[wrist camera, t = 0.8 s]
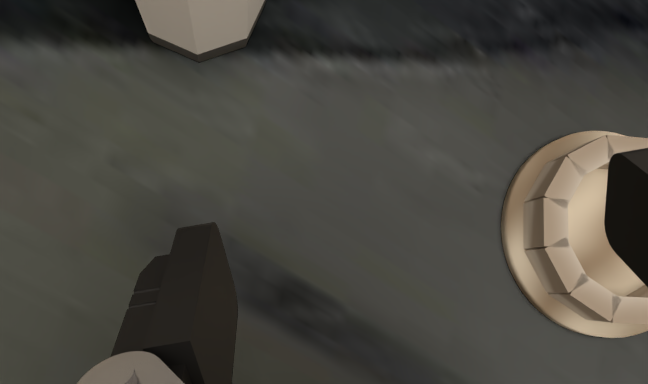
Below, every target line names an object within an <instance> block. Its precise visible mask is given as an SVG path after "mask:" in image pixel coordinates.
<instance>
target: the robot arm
mask: <svg viewBox="0 0 648 384" xmlns="http://www.w3.org/2000/svg"><path fill="white" fill-rule="evenodd" d="M604 226H605V232H606V236H607V239H608V242H609V244H610V246H611V248H612V249H613V251H614V252H615V253H616V254H617V255H618V256H619V257H620V258H621V259H622V260H623V262H624V263H625V264H626V265H627V266H628V267H629V268H630V269H631V270H632V271H633V272H634V273H635V274H636V275H637V277H638V278H639V279H640V280H641V281H642V282H643V283H644V284H645V285H646V286H647V287H648V148H644V149H638V150H632V151H626V152H621V153H616V154H614V155H613V156H612V157H611V159H610V161H609V166H608V178H607V191H606V205H605V218H604ZM237 317H238V306H237V296H236V291H235V286H234V282H233V278H232V275H231V271H230V268H229V264H228V261H227V257H226V253H225V250H224V246H223V243H222V239H221V236H220V232H219V229H218V227H217V225H216V223H215V222H212V223H206V224H201V225H195V226H189V227H183V228H179V229H177V232H176V235H175V238H174V242H173V245H172V249H171V252H170V254H169V255H163V256H157V257H155V258H154V259H153V260H152V261H151V262H150V263H149V264H148V265H147V267H146V268H145V269H144V270H143V271H142V272H141V273H140V275H139V277H138V280H137V283H136V286H135V289H134V295H132V297H131V300H130V303H129V309H127V312H126V315H125V317H124V320H123V323H122V326H121V329H120V332H119V334H118V337H117V340H116V343H115V346H114V349H113V352H112V354H111V357H110V358H108V359H106V360H104V361H102V362H100V363H99V364H97V365H96V366H94V367H93V368H92V369H90V370H89V371H88V372H87V373H86V374H85V375H84V376H83V377H82V378H81V379H80V380H79V382H78V383H77V384H232V374H233V363H234V351H235V340H236V329H237Z"/></svg>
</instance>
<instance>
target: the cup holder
mask: <svg viewBox="0 0 648 384" xmlns="http://www.w3.org/2000/svg"><path fill="white" fill-rule="evenodd" d="M644 148H648V138H638V137H627V136H624V135H621V134H617V133H612V132H606V131H586V132H578V133H575V134H571V135H567V136H565V137H563V138H560V139H558V140H556V141H553V142H551V143H549V144H547V145H546V146H544V147H542V148H541V149H539V150H538V151H536V152H535V153H534V154H533V155H532V156H530V157H529V158H528V159H527V160H526V161H525V163H524V164H523V165H522V166H521V167H520V169H519V170H518V172H517V173H516V175H515V176H514V178H513V180H512V182H511V184H510V186H509V188H508V191H507V194H506V197H505V200H504V204H503V210H502V218H501V236H502V244H503V249H504V254H505V257H506V261H507V264H508V267H509V269H510V271H511V274H512V276H513V278H514V280H515V282H516V283H517V285H518V287H519V288H520V290H521V291H522V293H523V294H524V295H525V296H526V298H527V299H528V300H529V302H530V303H531V304H532V305H533V306H534V307H535V308H536V309H537V310H538V311H539V312H541V313H542V314H543V315H545V316H546V317H547V318H549V319H550V320H551V321H553V322H555V323H557V324H558V325H560V326H562V327H564V328H566V329H569V330H571V331H574V332H577V333H581V334H585V335H590V336H597V337H606V338H620V337H627V336H633V335H637V334H640V333H642V332H645V331H648V287H647V286H646V285H645V284H644V283H643V282H642V281H641V280H640V279H639V278H638V277H637V275H636V274H635V273H634V272H633V271H632V270H631V269H630V268H629V267H628V266H627V265H626V264H625V263H624V262H623V260H622V259H621V258H620V257H619V256H618V255H617V254H616V253H615V252H614V251H613V249H612V248H611V246H610V244H609V242H608V239H607V236H606V232H605V226H604V218H605V205H606V191H607V178H608V166H609V161H610V159H611V157H612V156H613V155H614V154H616V153H621V152H626V151H632V150H638V149H644Z"/></svg>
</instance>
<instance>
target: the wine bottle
mask: <svg viewBox="0 0 648 384" xmlns="http://www.w3.org/2000/svg"><path fill="white" fill-rule="evenodd" d="M135 2H136V4H137V7H138V9H139V12H140V14H141V17H142V19H143V22H144V24H145V27H146V29H147V32H148V34H149V37H150V39H151V40H152V41H153V42H154V43H156V44H158V45H161V46H163V47H165V48H168V49H170V50H172V51H174V52H177V53H179V54H181V55H184V56H186V57H188V58H190V59H193V60H195V61H197V62H202V61H205V60H208V59H211V58H214V57H217V56H220V55H223V54H226V53H229V52H232V51H235V50H237V49H240V48H243V47H245V46H246V44H247V42H248V40H249V38H250V36H251V34H252V31H253V29H254V27H255V25H256V23H257V21H258V19H259V16H260V14H261V12H262V10H263V8H264V6H265V3H266V0H135Z"/></svg>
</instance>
